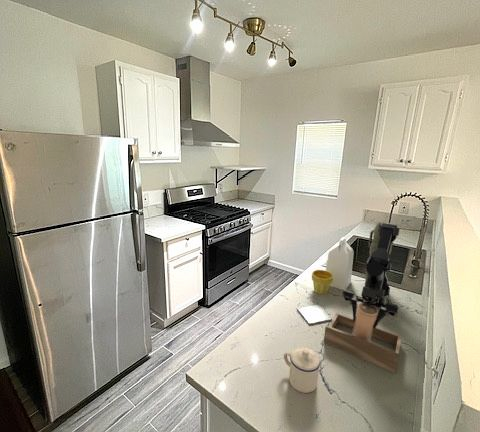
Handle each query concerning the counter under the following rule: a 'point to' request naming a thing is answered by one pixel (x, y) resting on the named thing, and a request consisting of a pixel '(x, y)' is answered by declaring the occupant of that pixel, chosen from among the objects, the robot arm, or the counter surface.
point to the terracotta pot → (364, 321)
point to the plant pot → (321, 281)
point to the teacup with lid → (303, 369)
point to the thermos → (374, 241)
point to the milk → (340, 264)
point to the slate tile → (314, 314)
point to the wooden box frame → (363, 343)
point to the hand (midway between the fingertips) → (363, 324)
